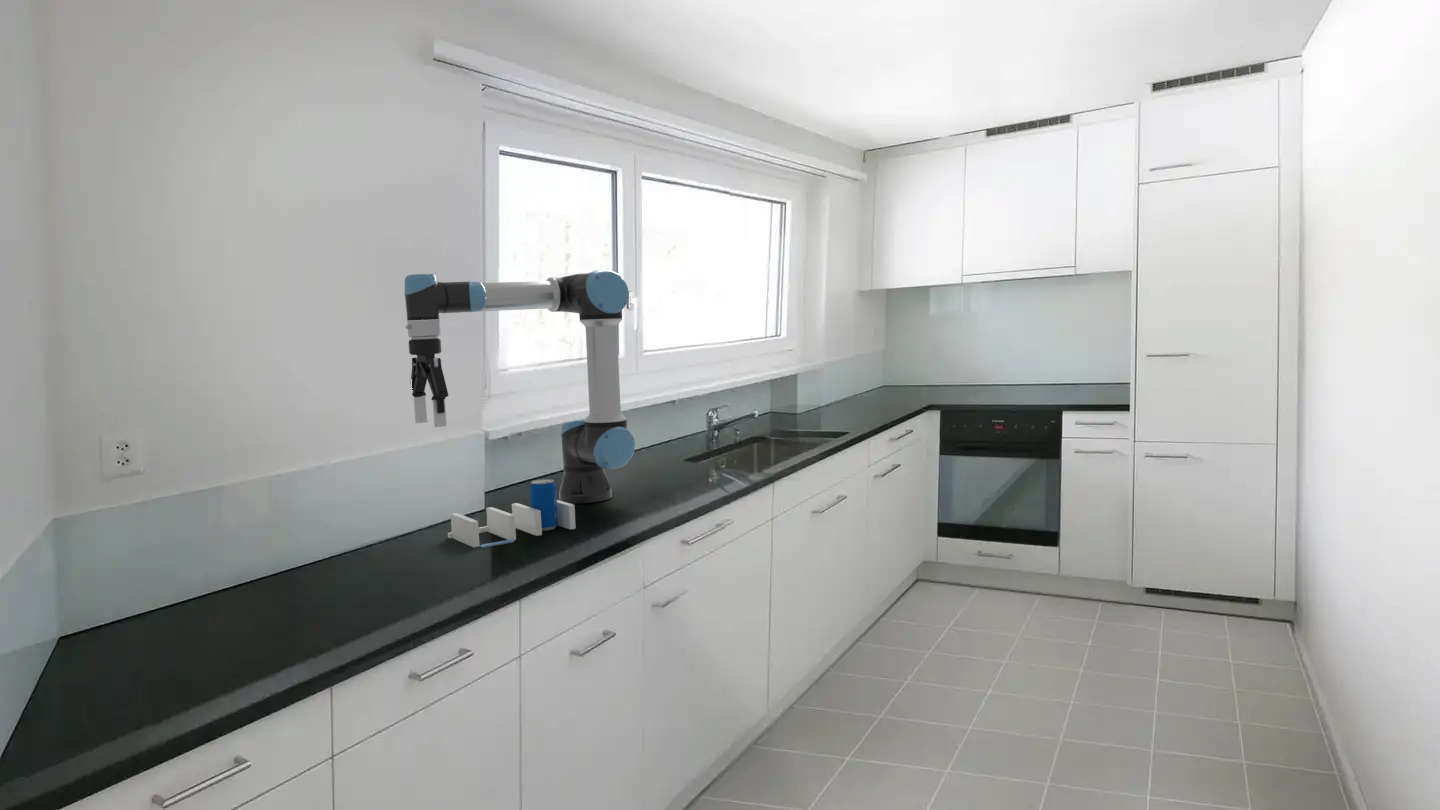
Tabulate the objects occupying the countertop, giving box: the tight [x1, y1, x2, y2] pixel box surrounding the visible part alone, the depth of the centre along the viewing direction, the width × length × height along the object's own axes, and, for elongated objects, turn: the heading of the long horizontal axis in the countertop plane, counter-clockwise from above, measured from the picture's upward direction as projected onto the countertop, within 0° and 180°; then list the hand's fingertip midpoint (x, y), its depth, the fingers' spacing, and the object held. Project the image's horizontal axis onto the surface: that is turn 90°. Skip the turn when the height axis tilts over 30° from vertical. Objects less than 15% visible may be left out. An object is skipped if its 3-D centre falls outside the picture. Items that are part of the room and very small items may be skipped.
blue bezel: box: [479, 539, 515, 549], centre depth 228 cm, size 8×2×1 cm, turn 126°
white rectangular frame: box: [447, 499, 577, 548], centre depth 239 cm, size 28×14×6 cm, turn 126°
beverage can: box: [529, 478, 558, 532], centre depth 243 cm, size 6×6×12 cm
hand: (430, 424), depth 238 cm, fingers open, 13 cm apart
